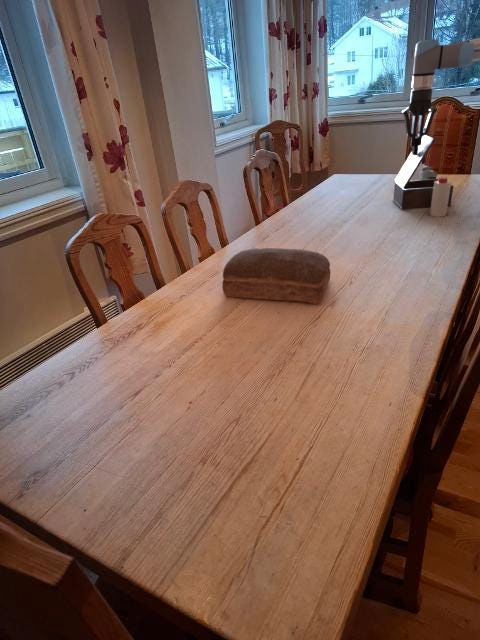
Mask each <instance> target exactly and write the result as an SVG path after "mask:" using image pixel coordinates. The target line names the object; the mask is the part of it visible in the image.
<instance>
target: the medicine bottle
mask: <svg viewBox="0 0 480 640" xmlns="http://www.w3.org/2000/svg"><path fill="white" fill-rule="evenodd" d="M425 167H429V166H428V165H426V156H425V157H424V159H423V160H422V162H421V163H420V165H419V167H418V168H417V170H416V171H415V173H414V175H413V176H412V178H411V179H410V181H414V180H421V175H420V171H421V169H422V168H425Z"/></svg>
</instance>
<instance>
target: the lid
mask: <svg viewBox="0 0 480 640" xmlns="http://www.w3.org/2000/svg"><path fill="white" fill-rule="evenodd" d="M435 141H436V138H433V137H431V136H428V135H424V136H423V137H422V141H421V145H420V146H418V154H417V155H412V151H411V152H410V154H409V155H408V157H407V159H405V162H404V164H403V165H402V167H401V168H400V170H399V171H398V174H397V176H396V177H395V178H394V183H395V182H397V183H398V184H399V185H400V186H401V187H402V188H404V189H405V187H406V186H407V184H408V183H409V181H410V179H411V178H412V176H413V175H414V173H415V171H416V170H417V168H418V167H419V165H420V163H421V162H422V160H423V159H424V157H425V158H426V155H427V154H428V152H429V150H430V149H431V147H432V145H433V144H434V142H435Z"/></svg>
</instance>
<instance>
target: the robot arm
mask: <svg viewBox="0 0 480 640" xmlns="http://www.w3.org/2000/svg"><path fill="white" fill-rule="evenodd" d="M414 50H415V51H414V59H413V68H412V69H413V70H412V80H411V90H410V97H409V98H410V99H409V100H410V101H409V104H408V106H407V107H406V108H405V109H402V111H401V113H402V115H403V119H404V127H405V134H406V136H407V137H410V144H409V145H410V147H411V152H412V155H417V154H418V146H420V145H421V141H422V137H423V136H424V135H426V136H428V133H429V130H430V128H431V124H432V122H433V119H434V117H435V114H436V113H437V111H438V108H437V107H435V106H433V103H432V98H433V88H432V87H433V86H434V82H435V81H434V80H435V74H436V73H435V72H436V70H442V69H457V68H459V69H462V68H466V67H467V68H468V67H470V66H471V65H472V63H477V62H480V37H477V38H474V39H468V40H464V41H460V42H456V43H448V44H440V43H439V39H437V38H435V39H426V40H419V41H418V42H417V43H416V44H415V49H414ZM428 112H429V113H428ZM427 113H428V114H427ZM410 114H411V115H412V120H411V121H412V122H410ZM426 115H427V118H426ZM425 119H426V120H425Z"/></svg>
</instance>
